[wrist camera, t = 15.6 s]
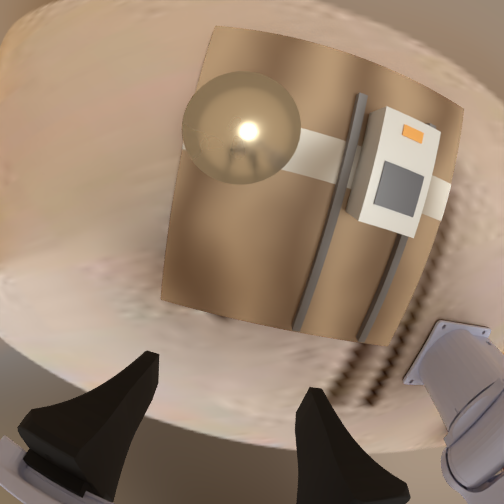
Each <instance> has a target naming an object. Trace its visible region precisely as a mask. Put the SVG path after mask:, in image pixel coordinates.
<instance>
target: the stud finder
mask: <svg viewBox="0 0 504 504" xmlns="http://www.w3.org/2000/svg"><path fill="white" fill-rule="evenodd" d="M440 134H441V132H440V131H438V130H436V129H434V128H433V127H431V126H429V125H427V124H425V123H423V122H421V121H419V120H416V119H414V118H412V117H410V116H408V115H406V114H404V113H401V112H399V111H397V110H395V109H392V108H390V107H387V106H386V107H383V108H381V109H378V110H376V111H374V112H371V113H370V114H369V118H368V123H367V128H366V132H365V137H364V141H363V145H362V150H361V154H360V158H359V162H358V166H357V170H356V174H355V177H354V181H353V185H352V189H351V192H350V196H349V200H348V203H347V207H346V210H345V211H346V212H347V213H348V214H350V215H351V216H352V217H354V218H355V219H356V220H358V221H360V222H364V223H367V224H370V225H374V226H377V227H380V228H383V229H387V230H390V231H393V232H396V233H399V234H402V235H405V236H408V237H411V238H414V236H415V233H416V230H417V227H418V224H419V221H420V217H421V214H422V211H423V207H424V204H425V200H426V197H427V193H428V189H429V185H430V181H431V177H432V173H433V169H434V164H435V160H436V155H437V150H438V145H439V140H440Z"/></svg>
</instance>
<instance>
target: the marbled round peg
mask: <svg viewBox="0 0 504 504" xmlns="http://www.w3.org/2000/svg"><path fill="white" fill-rule="evenodd" d="M300 135H301V119H300V114H299V110H298V108H297V105H296V103H295V101H294V99H293V98H292V96H291V95H290V94H289V92H288V91H287V90H286V89H285V88H284V87H283V86H282V85H281V84H279V83H278V82H276V81H275V80H273V79H271V78H270V77H267V76H265V75H262V74H259V73H255V72H247V71H238V72H231V73H227V74H223V75H220V76H218V77H216V78H214V79H212V80H210V81H209V82H207V83H206V84H204V85H203V86H202V87H201V88H200V89H199V90H198V91H197V92H196V93H195V94H194V95H193V97H192V98H191V100H190V101H189V103H188V105H187V108H186V110H185V113H184V116H183V122H182V136H183V142H184V145H185V148H186V151H187V153H188V155H189V156H190V158H191V160H192V161H193V162H194V164H195V165H196V166H197V167H198V168H199V169H200V170H201V171H203V172H204V173H205V174H207V175H208V176H210V177H212V178H214V179H216V180H218V181H221V182H224V183H229V184H238V185H244V184H252V183H256V182H260V181H263V180H265V179H267V178H269V177H271V176H273V175H274V174H276V173H277V172H279V171H280V170H281V169H282V168H283V167H284V166H285V165H286V164H287V163H288V162H289V161H290V159H291V158H292V156H293V155H294V153H295V151H296V149H297V146H298V143H299V140H300Z"/></svg>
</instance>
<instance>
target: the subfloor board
mask: <svg viewBox="0 0 504 504" xmlns="http://www.w3.org/2000/svg"><path fill="white" fill-rule="evenodd" d="M238 71H247V72H255V73H259V74H262V75H265V76H267V77H270V78H271V79H273V80H275V81H276V82H278V83H279V84H281V85H282V86H283V87H284V88H285V89H286V90H287V91H288V92H289V94H290V95H291V96H292V98H293V99H294V101H295V103H296V105H297V108H298V110H299V114H300V119H301V135H300V140H299V143H298V146H297V149H296V151H295V153H294V155H293V156H292V158H291V159H290V161H289V162H288V163H287V164H286V165H285V166H284V167H283V168H282V169H281V170H280V171H279V172H277V173H276V174H274V175H273V176H271V177H269V178H267V179H265V180H263V181H260V182H256V183H252V184H244V185H238V184H229V183H224V182H221V181H218V180H216V179H214V178H212V177H210V176H208V175H207V174H205V173H204V172H203V171H201V170H200V169H199V168H198V167H197V166H196V165H195V164H194V162H193V161H192V160H191V158H190V156H189V155H188V153H187V151H186V148H185V145H184V142H183V146H182V153H181V158H180V163H179V168H178V174H177V179H176V185H175V191H174V196H173V203H172V209H171V215H170V222H169V229H168V236H167V244H166V252H165V261H164V270H163V279H162V290H161V300H164V301H167V302H171V303H175V304H178V305H182V306H186V307H189V308H193V309H197V310H201V311H205V312H209V313H213V314H217V315H221V316H225V317H229V318H233V319H238V320H242V321H247V322H251V323H256V324H260V325H265V326H270V327H274V328H279V329H284V330H289V331H294V332H300V333H305V334H310V335H316V336H322V337H327V338H333V339H339V340H346V341H352V342H359V343H366V344H373V345H380V346H388V345H389V343H390V341H391V339H392V337H393V335H394V333H395V331H396V329H397V327H398V325H399V323H400V321H401V319H402V317H403V315H404V313H405V311H406V309H407V307H408V305H409V302H410V300H411V298H412V296H413V293H414V291H415V289H416V287H417V284H418V282H419V279H420V277H421V274H422V272H423V269H424V267H425V264H426V262H427V259H428V256H429V254H430V251H431V248H432V245H433V242H434V239H435V237H436V234H437V230H438V227H439V224H440V221H441V220H442V217H443V214H444V210H445V207H446V203H447V199H448V196H449V192H450V188H451V181H452V176H453V172H454V167H455V163H456V158H457V153H458V147H459V141H460V135H461V129H462V121H463V113H464V108H462V107H460V106H459V105H457V104H456V103H454V102H452V101H451V100H449V99H447V98H446V97H444V96H442V95H440V94H439V93H437V92H435V91H433V90H431V89H430V88H428V87H426V86H424V85H422V84H420V83H418V82H416V81H414V80H412V79H410V78H408V77H406V76H404V75H402V74H399V73H397V72H395V71H393V70H390V69H388V68H386V67H383V66H381V65H379V64H376V63H374V62H371V61H368V60H366V59H363V58H360V57H358V56H355V55H352V54H349V53H346V52H343V51H340V50H337V49H334V48H330V47H327V46H324V45H320V44H317V43H313V42H309V41H305V40H301V39H297V38H293V37H288V36H283V35H278V34H273V33H268V32H262V31H256V30H249V29H242V28H233V27H224V26H215V28H214V31H213V34H212V37H211V40H210V43H209V47H208V50H207V53H206V57H205V60H204V63H203V67H202V70H201V74H200V77H199V81H198V85H197V89H196V92H197V91H198V90H199V89H200V88H201V87H202V86H203V85H204V84H206V83H207V82H209V81H210V80H212V79H214V78H216V77H218V76H220V75H223V74H227V73H231V72H238ZM196 92H195V93H196ZM386 106H387V107H390V108H392V109H395V110H397V111H399V112H401V113H404V114H406V115H408V116H410V117H412V118H414V119H416V120H419V121H421V122H423V123H425V124H427V125H429V126H431V127H433V128H434V129H436V130H438V131H440V132H441V134H440V140H439V145H438V150H437V155H436V160H435V164H434V169H433V173H432V177H431V181H430V185H429V189H428V193H427V197H426V200H425V204H424V207H423V211H422V214H421V217H420V221H419V224H418V227H417V230H416V233H415V236H414V238H411V237H408V236H405V235H402V234H399V233H396V232H393V231H390V230H387V229H383V228H380V227H377V226H374V225H370V224H367V223H364V222H360V221H358V220H356V219H355V218H354V217H352V216H351V215H350V214H348V213H347V212H346V211H345V210H346V207H347V203H348V200H349V196H350V192H351V189H352V185H353V181H354V177H355V174H356V170H357V166H358V162H359V158H360V154H361V150H362V145H363V141H364V137H365V132H366V128H367V123H368V118H369V114H370V113H371V112H374V111H376V110H378V109H381V108H383V107H386Z"/></svg>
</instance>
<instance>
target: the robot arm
mask: <svg viewBox="0 0 504 504" xmlns="http://www.w3.org/2000/svg"><path fill="white" fill-rule="evenodd" d="M443 325H444V326H443ZM442 326H443V327H442ZM490 333H491V329H490V328H487V327H481V326H474V325H468V324H462V323H456V322H450V321H444V320H439V321H438V322H437V323H436V324H435V326H434V328H433V330H432V332H431V334H430V336H429V338H428V339H427V341H426V343H425V345H424V346H423V348H422V350H421V352H420V353H419V355H418V357H417V358H416V360H415V362H414V363H413V365H412V366H411V368H410V370H409V371H408V373H407V374H406V376H405V377H404V379H403V383H404V384H407V385H424V386H425V387H426V389H427V391H428V393H429V395H430V397H431V399H432V400H433V402H434V404H435V406H436V408H437V410H438V412H439V414H440V416H441V418H442V420H443V422H444V424H445V426H446V428H447V430H448V432H449V433H448V434H447V435H446V436H445V437H444V441H445V443H446V445H447V447H446V448H445V449H444V451H443V452H442V456H441V468H442V473H443V476H444V478H445V480H446V482H447V483H448V484H449V486H450V487H451V488H453V489H454V490H456V491H457V492H458V493H460V494H461V495H462V496H463V498H464V499H465V500H466V501H467V503H468V504H504V471H503V472H501V473H500V474H498V475H495V474H497V473H498V472H499V471H500V470H501V469H502V468H504V355H503V354H502V353H501V352H500V351H499V349H498V348H497V347H496V346H495V345H494V344H493V343H492V342H491V341H490V340H489V339H488V337H489V335H490ZM158 376H159V354H157V353H154V352H150V351H145V352H144V353H143V354H142V355H141V356H140V357H138V358H137V359H136V360H135V361H134V362H132V363H131V364H130V365H129V366H128V367H126V368H125V369H124V370H122V371H121V372H120V373H118V374H117V375H116V376H114V377H113V378H111V379H110V380H108V381H106V382H105V383H103V384H102V385H100V386H98V387H97V388H95V389H93V390H91V391H89V392H87V393H85V394H83V395H81V396H78V397H76V398H73V399H71V400H68V401H65V402H62V403H59V404H55V405H51V406H47V407H42V408H36V409H32V410H31V411H30V412H29V413H28V414H27V415H26V416H25V418H24V419H23V420H22V422H21V423H20V425H19V426H18V432H19V434H20V436H21V437H22V438H23V440H24V441H25V443H26V444H27V446H28V447H29V448H30V449H29V450H28V452H25V450H24V449H22V448H21V447H20V446H19V445H17V444H16V443H15V442H13V441H12V440H11V439H9V438H8V437H7V436H3V437H2V439H1V440H0V485H1V486H2V487H3V488H4V489H5V490H7V491H8V492H9V493H10V494H12V495H13V496H14V497H16V498H17V499H18V500H20V501H21V502H22V503H24V504H114V503H112V502H113V501H114V497H115V492H116V489H117V485H118V481H119V478H120V474H121V471H122V468H123V465H124V461H125V458H126V455H127V452H128V450H129V447H130V444H131V441H132V439H133V437H134V434H135V432H136V430H137V428H138V426H139V424H140V422H141V421H142V419H143V417H144V415H145V413H146V411H147V409H148V407H149V405H150V403H151V401H152V399H153V396H154V393H155V391H156V388H157V385H158ZM295 435H296V446H297V457H298V491H297V503H296V504H406V503H407V502H408V501H409V500H410V494H409V490H408V486H407V484H406V483H405V482H404V481H402V480H400V479H399V478H397V477H395V476H394V475H392V474H391V473H389V472H388V471H387V470H385V469H383V467H381V466H380V465H379V464H378V463H376V462H375V461H374V460H373V459H372V458H371V457H370V456H369V455H368V454H367V453H366V452H365V451H364V450H363V449H362V448H361V447H360V446H359V445H358V443H357V442H356V441H355V440H354V439H353V437H352V436H351V435H350V433H349V432H348V431H347V429H346V428H345V427H344V425H343V424H342V422H341V420H340V419H339V417H338V416H337V414H336V412H335V411H334V409H333V407H332V406H331V404H330V402H329V401H328V399H327V397H326V395H325V394H324V392H323V390H322V389H321V388H313V387H310V388H309V389H308V391H307V393H306V395H305V397H304V399H303V401H302V403H301V404H300V406H299V408H298V410H297V412H296V422H295Z"/></svg>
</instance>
